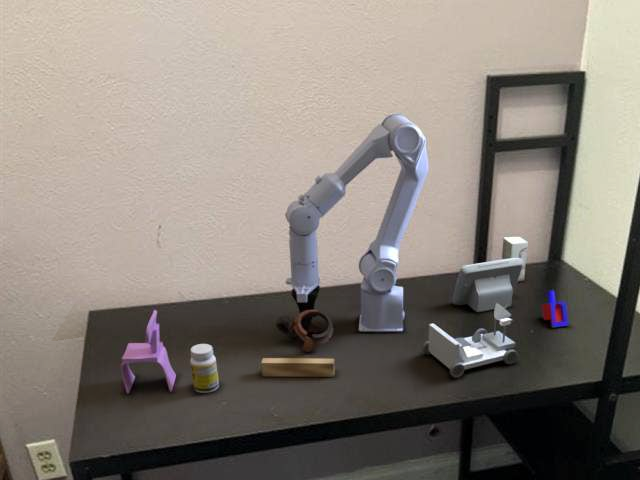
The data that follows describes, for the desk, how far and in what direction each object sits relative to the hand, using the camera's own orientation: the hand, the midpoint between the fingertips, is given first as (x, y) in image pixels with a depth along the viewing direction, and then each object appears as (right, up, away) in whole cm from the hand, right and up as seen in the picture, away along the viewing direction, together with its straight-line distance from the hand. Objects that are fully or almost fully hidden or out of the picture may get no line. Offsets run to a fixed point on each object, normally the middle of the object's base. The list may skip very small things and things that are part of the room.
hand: (307, 319), depth 167 cm
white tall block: (+49, +12, +27) cm, 57 cm away
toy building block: (+54, 0, +5) cm, 54 cm away
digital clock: (+40, +5, +14) cm, 43 cm away
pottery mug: (0, -5, -3) cm, 6 cm away
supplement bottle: (-18, -15, -19) cm, 30 cm away
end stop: (-1, -12, -15) cm, 19 cm away
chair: (-29, -14, -18) cm, 36 cm away
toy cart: (+35, -9, -9) cm, 37 cm away
